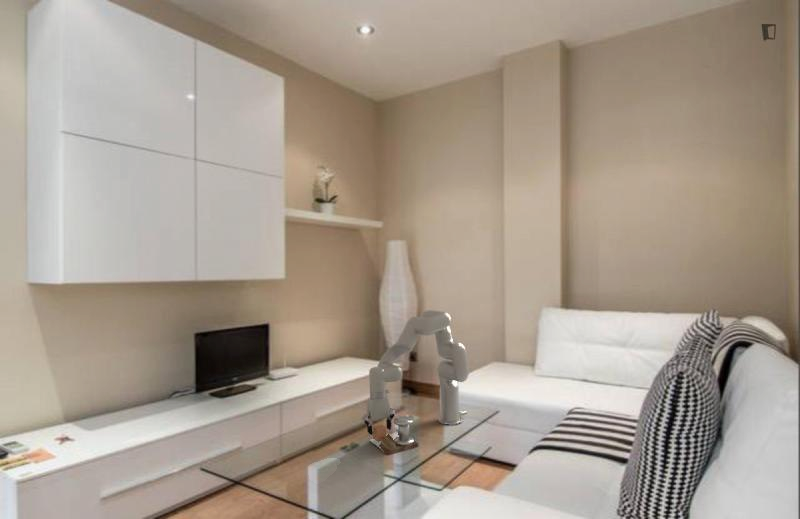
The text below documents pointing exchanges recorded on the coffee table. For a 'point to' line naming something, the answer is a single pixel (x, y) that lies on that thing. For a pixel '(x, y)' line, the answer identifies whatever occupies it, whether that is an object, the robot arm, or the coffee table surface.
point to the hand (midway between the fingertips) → (379, 431)
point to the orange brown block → (379, 432)
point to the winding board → (398, 448)
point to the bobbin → (403, 431)
